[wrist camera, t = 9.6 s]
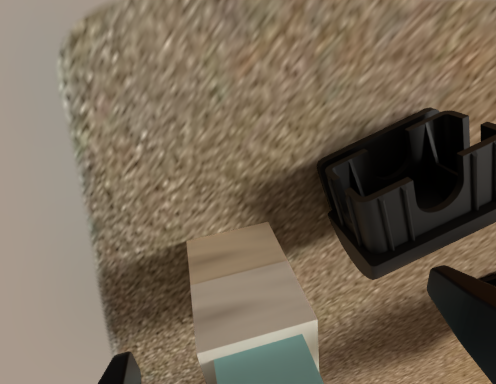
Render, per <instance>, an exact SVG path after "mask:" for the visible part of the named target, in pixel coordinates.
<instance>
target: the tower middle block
mask: <svg viewBox="0 0 496 384" xmlns="http://www.w3.org/2000/svg"><path fill="white" fill-rule="evenodd" d="M190 289H191V299H192V310H193V321H194V332H195V343H196V353H197V357H198V360H199V363H200V366H201V369H202V372H203V375H204V378H205V381H206V384H217V380H216V373H215V366H214V359H218V358H221V357H224V356H228V355H231V354H235V353H238V352H242V351H245V350H248V349H252V348H255V347H259V346H262V345H266V344H269V343H272V342H276V341H279V340H283V339H286V338H289V337H293V336H296V335H300V334H303V337H304V339H305V341H306V344H307V346H308V348H309V350H310V353H311V355H312V357H313V360H314V362H315V364H316V367H317V369H318V371H319V351H318V319H317V317H316V315H315V313H314V311H313V309H312V307H311V305H310V304H309V302H308V300H307V298H306V296H305V294H304V292H303V290H302V288H301V286H300V284H299V282H298V280H297V278H296V276H295V274H294V272H293V270H292V268H291V266H290V264H289V262H288V260H287V261H283V262H280V263H276V264H272V265H268V266H264V267H260V268H256V269H252V270H248V271H245V272H241V273H237V274H233V275H229V276H225V277H221V278H217V279H213V280H210V281H206V282H202V283H198V284H194V285H190Z"/></svg>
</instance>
